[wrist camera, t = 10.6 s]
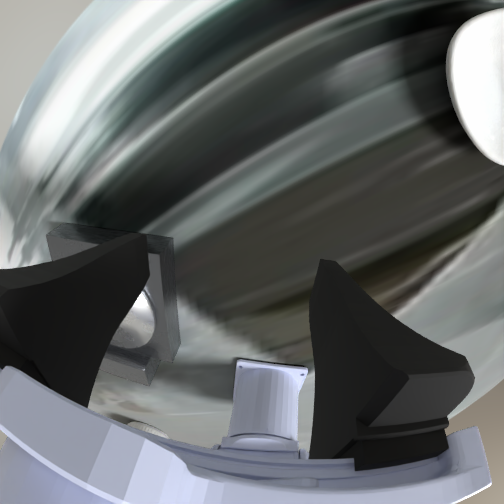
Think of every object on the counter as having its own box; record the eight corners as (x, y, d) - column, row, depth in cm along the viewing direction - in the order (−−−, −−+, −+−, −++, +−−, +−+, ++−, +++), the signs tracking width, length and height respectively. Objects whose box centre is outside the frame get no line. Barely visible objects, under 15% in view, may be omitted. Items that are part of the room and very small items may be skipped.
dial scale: (182, 362, 30) (170, 394, 26) (95, 336, 31) (77, 362, 27) (173, 238, 23) (148, 268, 18) (64, 222, 23) (32, 244, 19)
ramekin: (172, 446, 48) (167, 464, 44) (127, 429, 48) (120, 446, 43) (176, 432, 43) (169, 454, 38) (123, 411, 42) (114, 432, 38)
